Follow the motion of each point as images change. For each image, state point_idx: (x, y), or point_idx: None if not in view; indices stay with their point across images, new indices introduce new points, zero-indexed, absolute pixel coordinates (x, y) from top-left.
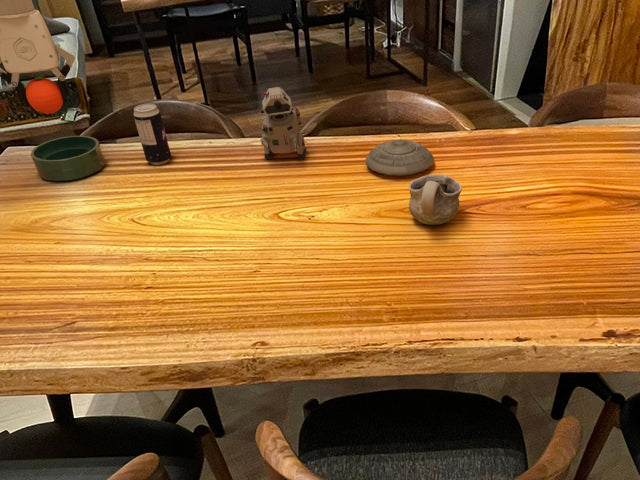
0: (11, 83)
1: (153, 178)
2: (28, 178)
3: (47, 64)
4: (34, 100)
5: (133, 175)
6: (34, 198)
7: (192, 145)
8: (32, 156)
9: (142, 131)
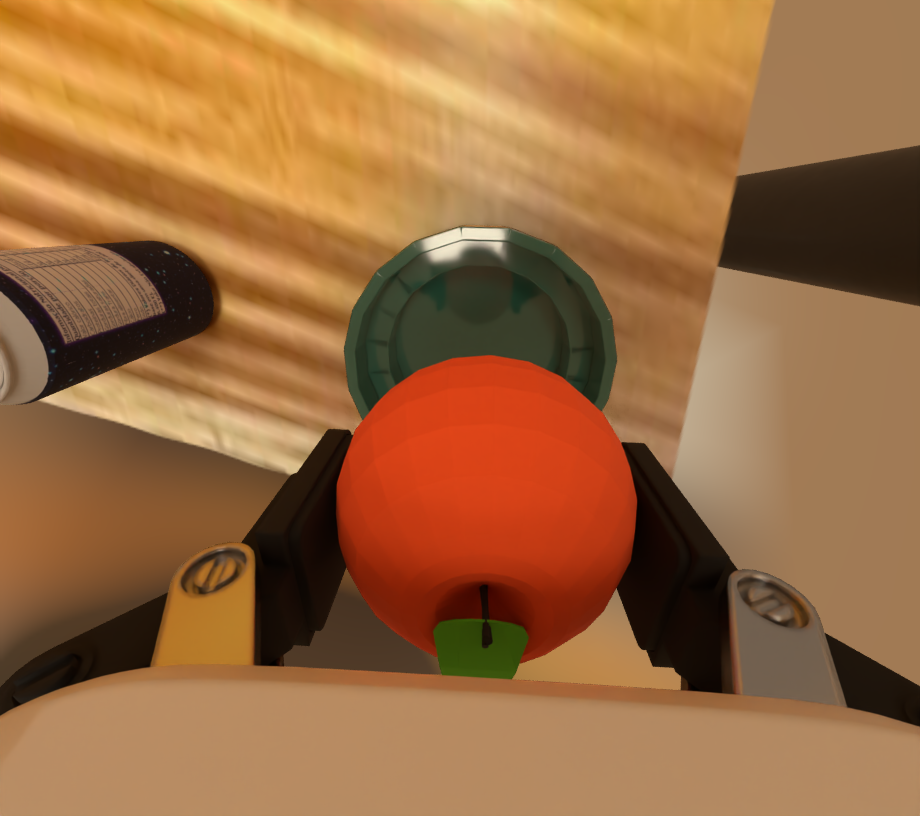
0: (812, 608)
1: (161, 111)
2: (628, 337)
3: (106, 788)
4: (572, 393)
5: (253, 188)
6: (637, 113)
7: (93, 382)
8: (612, 338)
9: (70, 268)
